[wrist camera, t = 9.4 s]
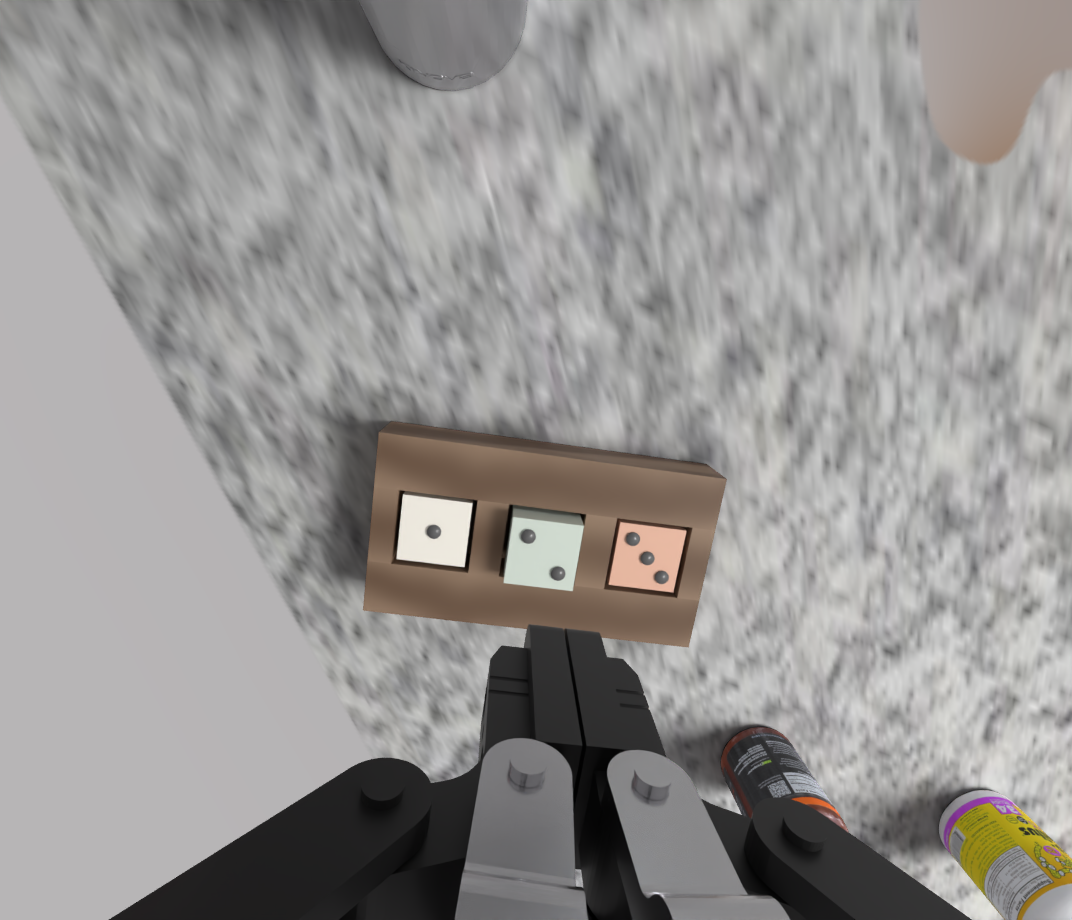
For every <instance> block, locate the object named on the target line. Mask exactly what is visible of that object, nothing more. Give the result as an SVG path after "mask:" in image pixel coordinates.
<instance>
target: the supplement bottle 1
mask: <svg viewBox="0 0 1072 920" xmlns="http://www.w3.org/2000/svg"><path fill="white" fill-rule="evenodd" d="M721 769H722V772H723V775H724V777H725V780H726V782H727V784H728V786H729V788H730V791H731V793H732V795H733V797H734V799H735V801H736V803H737V805H738V807H739V809H740V811H741V814H742V815H743V816H746V817H749V818H751V817H752V813H753V810H754V808H755V806H756V805H757V804H758V803H759V802H760V801H762V800H764V799H767V798H773V797H781V798H787V799H792V800H795V801H798V802H801V803H803V804H806V805H808V806H810V807H811V808H813V809H815V810H817V811H818V812H820V813H821V814H823V815H824V816H826V817H827V818H829V819H830V820H831V821H833V822H834V823H836V824H837V825H839V826H840V827H841V828H843V829H844V830H846V831H847V832H848V829H847V827H846V825H845V823H844V821H843V820H842V818H841V817H840V815H839V814H838V812H837V811H836V809H835V807H834V806H833V805H832V803H831V802H830V800H829V799H828V797H827V796H826V794H825V793H824V791H823V790H822V788H821V787H820V785H819V784H818V782H817V781H816V780H815V778H814V777H813V775H812V774H811V772H810V771H809V769H808V768H807V766H806V765H805V763H804V762H803V760H802V759H801V757H800V756H799V754H798V753H797V751H796V750H795V748H794V747H793V746H792V744H791V743H790V742H789V740H788V739H787V738H786V737H785V736H784V735H783V734H781V733H780V732H778V731H776V730H774V729H771V728H767V727H756V728H750V729H747V730H744V731H742V732H740V733H739V734H737V735H736V736H734V737H733V738H732V739H731V740H730V741H729V742H728V743H727V745H726V746H725V748H724V751H723V753H722V757H721ZM848 833H849V832H848Z"/></svg>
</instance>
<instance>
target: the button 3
mask: <svg viewBox="0 0 1072 920" xmlns="http://www.w3.org/2000/svg"><path fill="white" fill-rule="evenodd" d="M685 536H686V529H685V528H684V527H683V526H675V525H667V524H659V523H651V522H644V521H636V520H628V519H620V518H617V522H616V527H615V532H614V538H613V543H612V548H611V554H610V559H609V564H608V570H607V575H606V579H607V581H608V584H609V585H615V586H624V587H632V588H640V589H649V590H657V591H665V592H673V591H674V587H675V582H676V577H677V573H678V568H679V564H680V559H681V554H682V550H683V545H684V540H685Z"/></svg>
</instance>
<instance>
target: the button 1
mask: <svg viewBox="0 0 1072 920" xmlns="http://www.w3.org/2000/svg"><path fill="white" fill-rule="evenodd" d="M473 505H474V500H472V499H465V498H457V497H449V496H441V495H434V494H426V493H418V492H410V491H405V492H404V494H403V499H402V509H401V519H400V529H399V539H398V549H397V559H400V560H408V561H417V562H425V563H433V564H442V565H450V566H458V567H465V561H466V556H467V551H468V544H469V536H470V528H471V521H472V513H473Z"/></svg>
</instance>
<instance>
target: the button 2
mask: <svg viewBox="0 0 1072 920" xmlns="http://www.w3.org/2000/svg"><path fill="white" fill-rule="evenodd" d="M583 529H584V525H583V522H582V519H581V516H580V513H574V512H566V511H558V510H550V509H542V508H535V507H527V506H519V505H513V507H512V513H511V520H510V527H509V534H508V541H507V548H506V555H505V562H504V583H508V584H516V585H525V586H533V587H541V588H550V589H558V590H567V591H573V586H574V580H575V575H576V569H577V563H578V557H579V552H580V546H581V540H582V534H583Z"/></svg>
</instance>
